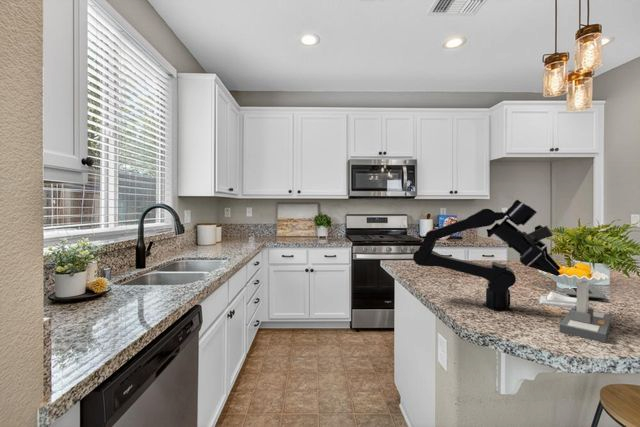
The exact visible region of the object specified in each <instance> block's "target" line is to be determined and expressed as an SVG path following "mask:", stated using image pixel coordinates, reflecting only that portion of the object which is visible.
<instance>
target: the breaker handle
mask: <svg viewBox="0 0 640 427" xmlns="http://www.w3.org/2000/svg"><path fill="white" fill-rule="evenodd" d="M590 286H591V281H590V280H589V281H588V280H581V279H579V280H577V281H576V283H575V287H577V297H576V298H577V306H576V312H582V313H587V312H588V308H589V299H588V298H589V289H590Z"/></svg>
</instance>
